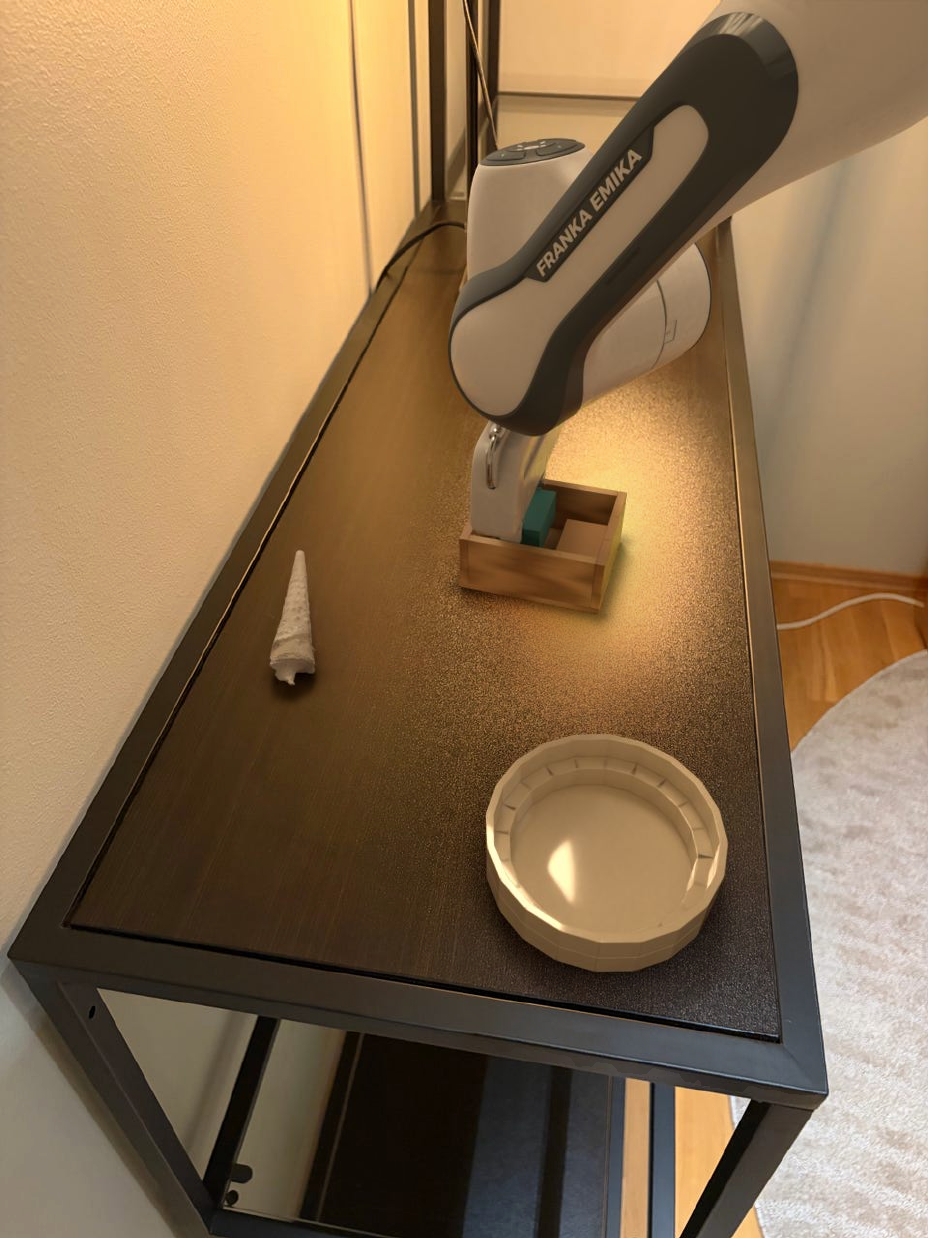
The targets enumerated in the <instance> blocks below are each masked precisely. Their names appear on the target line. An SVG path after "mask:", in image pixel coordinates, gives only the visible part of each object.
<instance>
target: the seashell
mask: <svg viewBox="0 0 928 1238" xmlns="http://www.w3.org/2000/svg"><path fill="white" fill-rule="evenodd" d="M308 586H309V585H308V574H307V564H306V557H305V552H304V551H303V550H300V549H299V550H297V551H296V552H295V556H294V561H293V564H292V568H291V575H290V579H289V583H288V585H287V587H288V589H287V590H286V592H287V593H286V597H285V598H284V605H283V607H282V614H281V619H280V621H279V624H278V625H277V629H276V633H275V637H274V640H273V642H272V645H271V647H270V654H269V655H270V656H269V667H270V668H272V669H273V670H275V673H274V676H275V677H276V679H277V680H278V681H282V682H283V681H284V682H286V683H287V684H288V685H289V686H295V685H296V683H295V682H294V681H295V677H296V674H297V673H303V674H304V673H307V674H315V672H316V668H315V665H316V662H315V652H316V649H315V648H314V646H313V638H312V636H313V634H312V623H311V611H310V607H311V604H310V602H309V587H308Z"/></svg>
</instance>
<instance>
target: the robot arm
mask: <svg viewBox="0 0 928 1238" xmlns="http://www.w3.org/2000/svg"><path fill="white" fill-rule="evenodd" d="M927 117H928V0H720V2H718V4H717V5H716V6H715V8H714V9H713V10H712V11H711V12H710V13H709V14H708V16H707V17H706V19H705V20H704V21H703V22H702V23H701V25H700V26H699V28H697V30H696V31H695V32H694V34H693V35H692V36H691V37H690V39H688V41H687V42H686V43H685V44H684V46H683V47H682V48H681V49H680V50H679V52H678V53H677V54H676V56H674V58H673V59H672V60H671V61H670V62H669V64H668V65H667V66H666V68H664V70H663V71H662V72H661V73H660V74H659V75H658V77H656V79H655V80H654V81H653V82H652V83H651V84H650V85H649V86H648V88H647V89H646V90H645V91H644V92H643V93H642V95H641V96H640V97H639V98H638V100H636V102H635V103H634V104H633V105H632V107H631V108H630V109H629V110H628V112H626V114H625V115H624V116H623V118H622V119H621V120H620V122H619V123H618V124H617V125H616V127H615V128H614V129H613V130H612V131H611V133H610V134H609V135H608V137H607V138H606V139H605V140H604V142H602V144H601V145H600V147H598V150H597V151H596V152H595V153H594V152H593V151H592V149H590V147H589V146H587V145H586V144H585V143H583V142H581V141H577V140H576V139H573V138H566V137H565V138H564V137H553V138H552V137H551V138H550V137H549V138H540V139H537V140H532V141H531V140H530V141H523V142H519V143H514V144H512V145H508V146H505V147H502V148H500V149H497V150H495V151H492V152H491V153H489V154H487V155H486V156H485V157H484V159H482V160H481V161H480V162H479V163H478V165H477V167H476V168H475V172H474V175H473V177H472V181H471V186H470V193H469V198H468V210H467V225H466V227H467V228H466V276H467V277H466V278H467V281H466V282H465V284H464V285H463V286H462V287H461V289H460V291H459V293H458V297H457V299H456V302H455V305H454V308H453V311H452V315H451V319H450V324H449V329H448V338H447V359H448V365H449V368H450V369H449V370H450V372H451V376H452V378H453V381H454V383H455V387H456V388H457V389H458V391H459V393H460V394H461V396H462V398H463V399H464V400H465V401H466V403H467V404H468V405H469V407H471V408H472V409H473V410H474V411H475V412H477V413H478V414H479V415H480V416H482V417H483V418H485V419H486V420H487V421H488V422H487V423H486V425H485V427H484V429H483V431H482V433H481V434H480V436H479V438H478V440H477V442H476V444H475V447H474V449H473V454H472V461H471V469H470V470H471V471H470V486H469V487H470V488H469V489H470V490H469V492H470V493H469V518H470V524H471V527H472V528H473V530H474V531H475V532H477V533H480V534H484V535H489V536H495V537H500V540H502V541H507V542H513V543H518V544H520V542H521V539H522V537H523V534H524V526H525V519H523V518H524V515H525V513H526V511H527V509H528V506H529V504H530V502H531V499H532V497H533V495H534V493H535V490H536V489H541V490H543V488H544V486H545V479H546V478H547V477H546V475H547V468H548V464H549V461H550V458H551V456H552V453H553V451H554V449H555V447H556V444H557V443H558V439H559V438H560V436H561V433H562V431H563V428H564V426H565V424H566V422H567V421H568V420H570V419H571V418H573V417H575V416H576V415H577V414H578V412H579V411H581V410H583V409H585V408H588V407H589V406H591V405H593V404H595V403H597V402H599V401H600V400H603V399H604V398H606V397H608V396H610V395H612V394H614V393H616V392H618V391H619V390H621V389H624V388H625V387H627V386H629V385H631V384H633V383H635V382H636V381H639V380H640V379H642V378H643V377H645V376H647V375H649V374H651V373H653V372H655V371H657V370H658V369H660V368H662V367H664V366H666V365H667V364H669V363H671V362H672V361H674V360H676V359H678V358H679V357H681V356H682V355H684V354H685V353H687V352H689V351H690V350H692V349H693V348H694V347H695V346H696V345H697V344H698V343H699V341H700V340H701V338H702V337H703V336H704V333H705V332H706V329H707V327H708V324H709V321H710V317H711V313H712V307H713V282H712V275H711V270H710V268H709V264H708V261H707V259H706V256H705V253H704V252H703V251H702V249H701V247H700V246H699V244H698V241H699V240H700V239H701V238H702V237H704V236H705V235H706V234H708V233H709V232H710V231H711V230H712V229H714V228H716V227H717V226H718V225H720V224H721V223H722V222H724V221H725V220H727V219H728V218H730V217H732V216H733V215H734V214H736V213H738V212H740V211H741V210H743V209H745V208H746V207H748V206H750V205H752V204H753V203H755V202H756V201H759V200H760V199H762V198H765V197H767V196H768V195H770V194H773V193H774V192H776V191H777V190H780V189H782V188H784V187H786V186H788V185H790V184H792V183H794V182H797V181H799V180H801V179H803V178H805V177H808V176H809V175H811V174H813V173H816V172H818V171H821V170H822V169H825V168H827V167H829V166H832V165H833V164H836V163H838V162H841V161H843V160H845V159H847V158H850V157H852V156H854V155H857V154H859V153H862V152H863V151H865V150H867V149H870V148H873V147H874V146H876V145H879V144H881V143H883V142H885V141H888V140H890V139H892V138H894V137H895V136H897V135H899V134H901V133H904V132H905V131H907V130H909V129H910V128H912V127H913V126H915V125H916V124H918V123H919V122H921V121H923V120H924V119H926V118H927Z"/></svg>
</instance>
